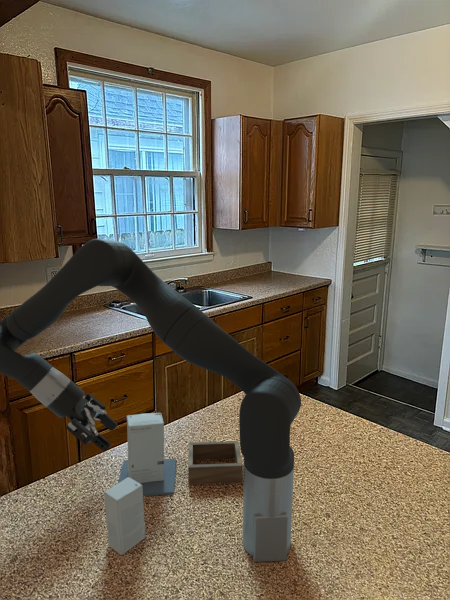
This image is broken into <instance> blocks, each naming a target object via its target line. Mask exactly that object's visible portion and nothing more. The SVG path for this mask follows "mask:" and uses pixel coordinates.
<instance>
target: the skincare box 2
mask: <svg viewBox="0 0 450 600" xmlns="http://www.w3.org/2000/svg"><path fill="white" fill-rule="evenodd" d="M126 427H127V428H126V431H127V432H126V433H127V434H126V435H127V436H126V437H127V460H128V475H129V477H130V478H131V479H133V480H135V481H136V482H138V483H140V484H141V483H147V482H154V481H163V480H164V459H165V423H164V419H163V416H162V413H161V412H154V413H153V412H151V413H149V412H148V413H140V414H131V415H130V414H128V415H126Z"/></svg>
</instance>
